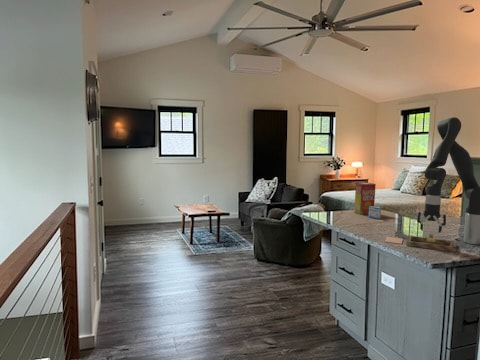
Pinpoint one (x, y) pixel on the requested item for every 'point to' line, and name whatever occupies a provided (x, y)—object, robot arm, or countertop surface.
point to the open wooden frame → (431, 246)
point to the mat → (394, 240)
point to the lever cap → (430, 238)
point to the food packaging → (364, 197)
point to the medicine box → (375, 212)
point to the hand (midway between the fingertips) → (430, 231)
